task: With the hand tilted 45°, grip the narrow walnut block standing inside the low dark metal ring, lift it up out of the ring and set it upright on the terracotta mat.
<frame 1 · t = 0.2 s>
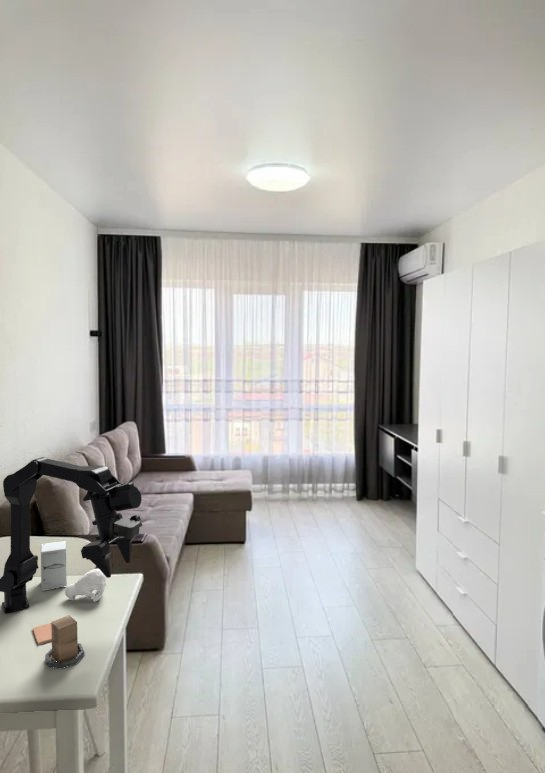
hand: (119, 569, 134), 16 cm above the table, tool pointing down, fingers open, 9 cm apart
supplement box: (54, 585, 158), on the table
terracotta mat: (51, 632, 131), on the table
white lumpy piece: (85, 598, 149), on the table
metal ring: (65, 657, 121), on the table
walnut block: (64, 639, 121), in the metal ring
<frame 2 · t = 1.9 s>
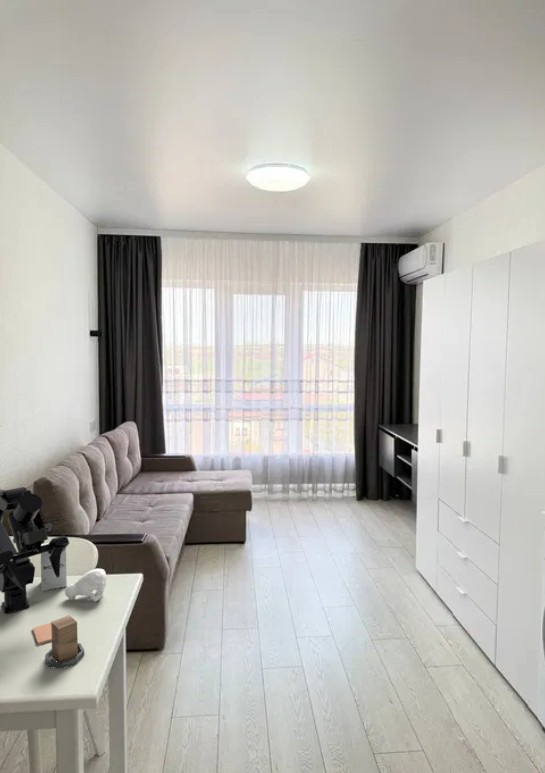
hand: (41, 582, 131), 13 cm above the table, tool tilted 40°, fingers open, 9 cm apart
nothing on the table moved.
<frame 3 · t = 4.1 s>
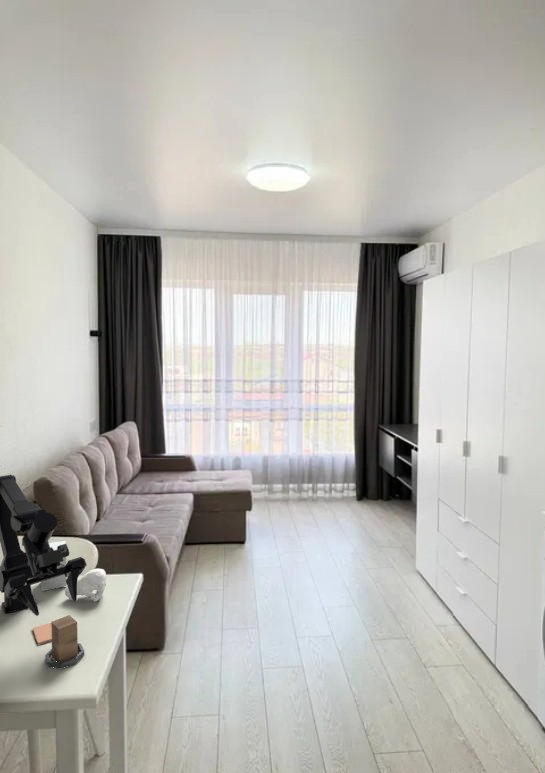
hand: (57, 607, 123), 11 cm above the table, tool tilted 45°, fingers open, 9 cm apart
nothing on the table moved.
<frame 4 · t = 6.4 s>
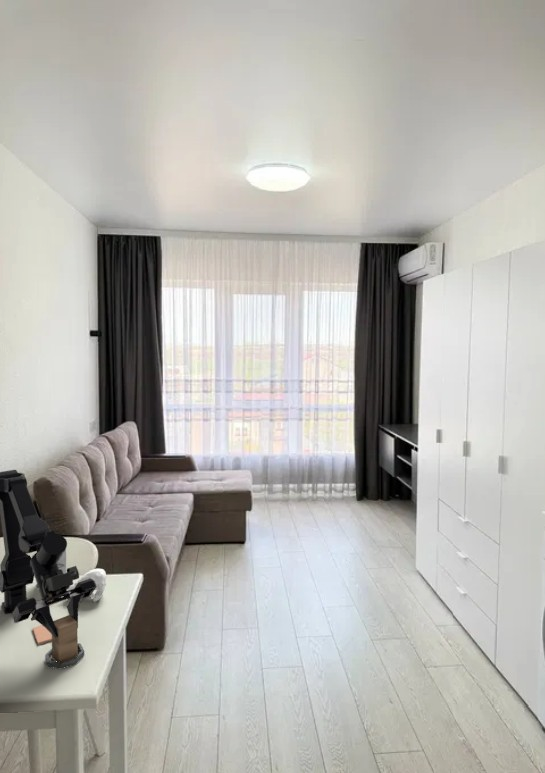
hand: (66, 632, 119), 7 cm above the table, tool tilted 45°, fingers closed on walnut block, 4 cm apart
walnut block: (64, 639, 121), in the metal ring, touching gripper
everything else where it was.
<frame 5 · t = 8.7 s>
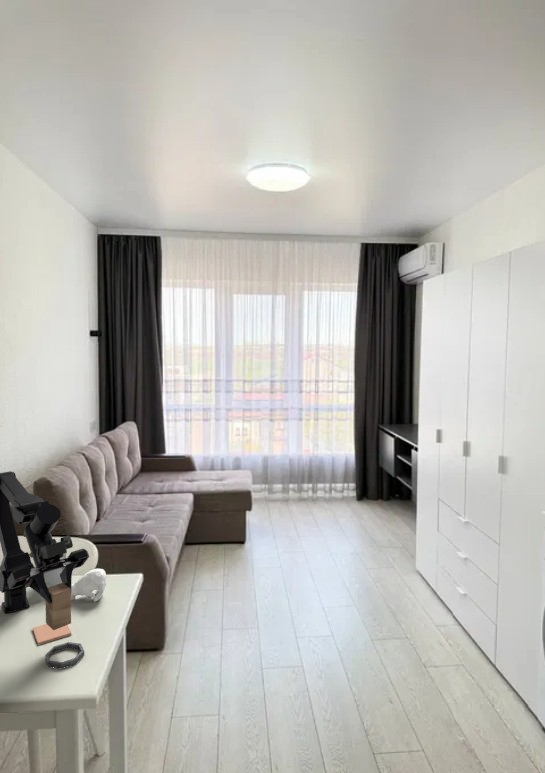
hand: (60, 599, 123), 13 cm above the table, tool tilted 45°, fingers closed on walnut block, 4 cm apart
walnut block: (58, 606, 124), point 11 cm above the table, touching gripper
everything else where it was.
when the fingers open (9 cm above the table, at t = 11.2 s): walnut block drops 1 cm, resting on terracotta mat.
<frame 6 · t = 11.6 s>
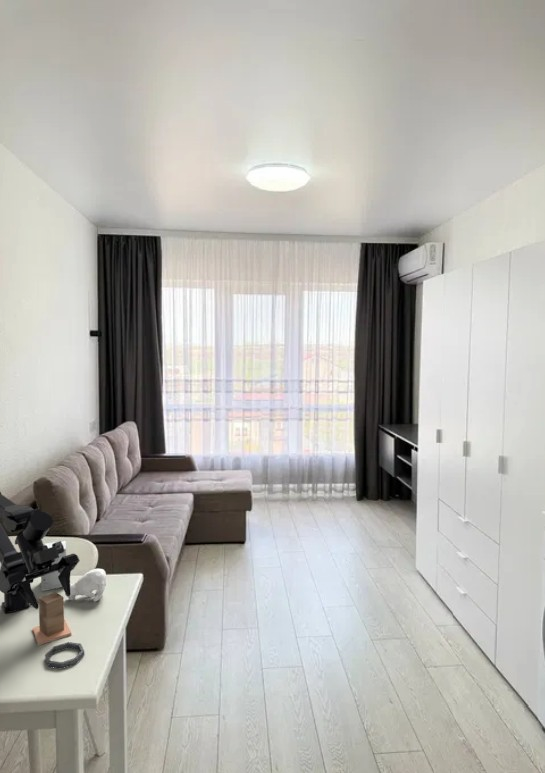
hand: (53, 601, 130), 9 cm above the table, tool tilted 45°, fingers open, 8 cm apart
walnut block: (51, 613, 131), on the terracotta mat, point 5 cm above the table
everything else where it was.
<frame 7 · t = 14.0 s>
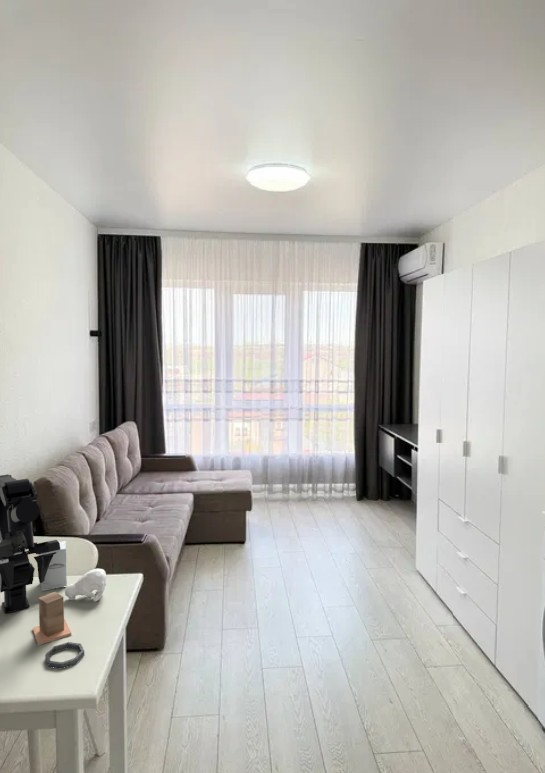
hand: (25, 585, 132), 12 cm above the table, tool tilted 20°, fingers open, 9 cm apart
nothing on the table moved.
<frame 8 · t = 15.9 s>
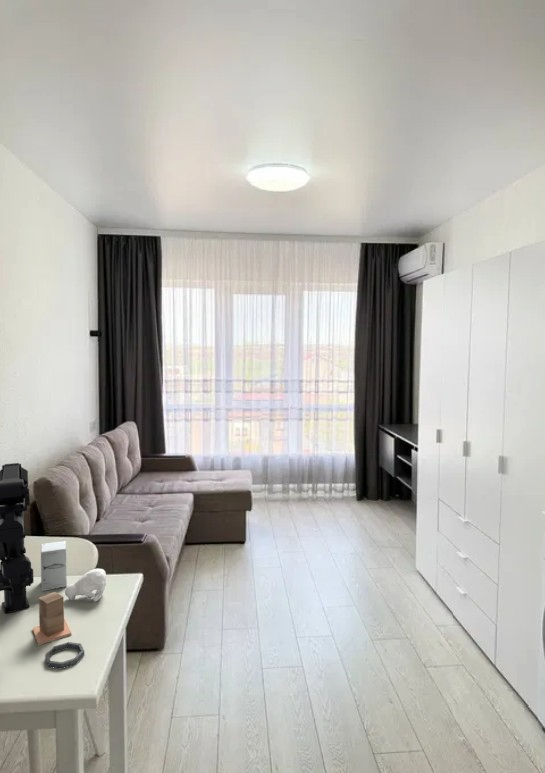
hand: (13, 587, 131), 12 cm above the table, tool pointing down, fingers open, 9 cm apart
nothing on the table moved.
at the end: walnut block inside the target area on the terracotta mat (0.0 cm from its centre), point 5.1 cm above the terracotta mat's base; walnut block tilted 0°; the gripper is holding nothing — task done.
